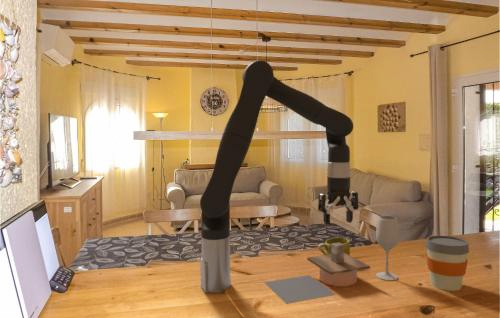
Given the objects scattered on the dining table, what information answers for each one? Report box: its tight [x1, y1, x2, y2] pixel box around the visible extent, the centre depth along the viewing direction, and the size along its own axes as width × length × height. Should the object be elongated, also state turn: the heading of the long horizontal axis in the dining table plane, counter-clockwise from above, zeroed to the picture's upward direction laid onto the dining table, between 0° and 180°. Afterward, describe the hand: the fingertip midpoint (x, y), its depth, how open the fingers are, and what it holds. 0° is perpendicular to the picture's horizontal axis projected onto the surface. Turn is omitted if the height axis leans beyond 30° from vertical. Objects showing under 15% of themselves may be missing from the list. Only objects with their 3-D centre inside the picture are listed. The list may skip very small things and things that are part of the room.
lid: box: [306, 243, 371, 275], centre depth 129 cm, size 15×15×7 cm
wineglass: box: [375, 215, 400, 282], centre depth 132 cm, size 8×8×21 cm
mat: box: [263, 274, 337, 305], centre depth 122 cm, size 17×17×1 cm
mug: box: [317, 236, 351, 256], centre depth 150 cm, size 12×10×10 cm
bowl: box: [319, 268, 358, 287], centre depth 129 cm, size 12×12×6 cm
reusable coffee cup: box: [425, 234, 470, 292], centre depth 125 cm, size 13×13×15 cm
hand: (338, 223), depth 128 cm, fingers open, 8 cm apart
